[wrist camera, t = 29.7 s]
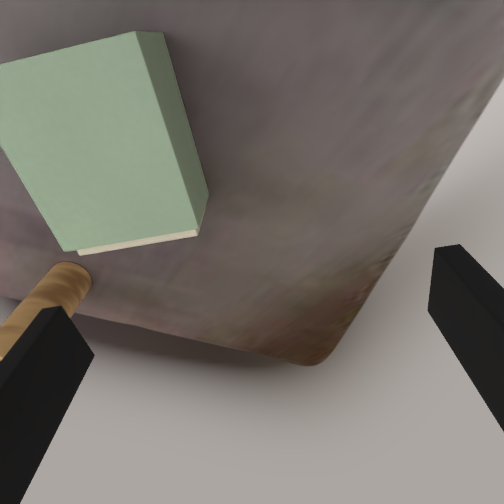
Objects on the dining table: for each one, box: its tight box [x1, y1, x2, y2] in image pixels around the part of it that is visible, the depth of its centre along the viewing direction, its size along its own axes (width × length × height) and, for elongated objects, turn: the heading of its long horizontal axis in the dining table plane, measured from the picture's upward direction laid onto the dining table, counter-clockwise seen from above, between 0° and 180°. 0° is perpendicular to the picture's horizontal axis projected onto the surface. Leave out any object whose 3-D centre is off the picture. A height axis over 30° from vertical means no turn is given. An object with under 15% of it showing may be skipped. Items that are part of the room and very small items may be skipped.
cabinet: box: [0, 31, 209, 252], centre depth 31 cm, size 16×14×8 cm
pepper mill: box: [0, 262, 92, 362], centre depth 38 cm, size 5×5×18 cm
